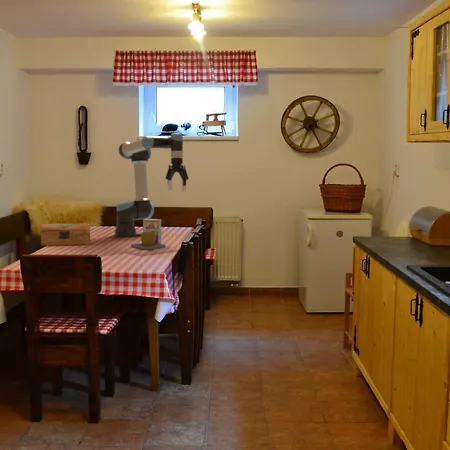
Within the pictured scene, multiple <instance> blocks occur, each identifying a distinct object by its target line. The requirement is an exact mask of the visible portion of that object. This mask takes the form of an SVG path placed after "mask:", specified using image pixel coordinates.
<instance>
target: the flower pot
mask: <svg viewBox="0 0 450 450" xmlns="http://www.w3.org/2000/svg"><path fill="white" fill-rule="evenodd" d="M140 239H141V241H140V242H141V243H142V245H143V246H146V247H147V246H154V241H155V232H143V231H142V232H140Z"/></svg>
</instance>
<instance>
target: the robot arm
mask: <svg viewBox="0 0 450 450" xmlns="http://www.w3.org/2000/svg"><path fill="white" fill-rule="evenodd" d="M183 144H184V139H183V134H182V133H180V132H179V133H178V132H177V133H175V132H174V133H173V132H172V133H171V134H170V136H155V135H154V136H151V135H147V136H145V135H144V136H143V137H142V138H141V139H138V140H134V141H132V142H129V141H126V142H123V143H121V144H119V147H118V153H119V155H120V157H122V158H123V159H125V160H131V163H132V164H133V173H134V174H133V175H134V176H133V177H134V189H135V193H134V194H135V199H134V200H133V201H131V200H130V201H129V200H128V201H121V202H119V203H117V205H116V226H115V229H114V236H116V237H135V236H137V231H136V227H135V221H137V220H143V219H152V217H153V215H154V212H155V206H154V204H153V203H152V202H151V199H150V198H149V193H148V175H147V164H148V162H149V159H151V156H152V150H151V149H165V150H166V149H167V150H168V149H170V157H171V158H170V164H169V165H168V168H167V172H166V176H165V180H167V190H168V191H173V177H174V175H175V174H176V173H178V175H179V176H180V178H181V192H186V191H187V190H186V186H187V181H188V180H189V175H188V172H187V170H186V165H185V164H183V163H184V162H183V161H184V160H183V159H184V158H183V157H184V155H183V154H184V152H183V151H184V150H183V148H184V147H183V146H184V145H183Z"/></svg>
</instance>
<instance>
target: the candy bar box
mask: <svg viewBox="0 0 450 450" xmlns="http://www.w3.org/2000/svg"><path fill="white" fill-rule="evenodd" d="M142 232H155V241H154V243H159V244H162V219H157V218H154V219H153V218H149V219H142Z"/></svg>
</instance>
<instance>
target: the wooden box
mask: <svg viewBox="0 0 450 450" xmlns="http://www.w3.org/2000/svg"><path fill="white" fill-rule="evenodd" d="M90 229H91V224H90V223H46V224H45V223H44V224H40V246H66V245H67V246H68V245H69V246H72V245H90V244H91V233H90V232H91V231H90Z"/></svg>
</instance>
